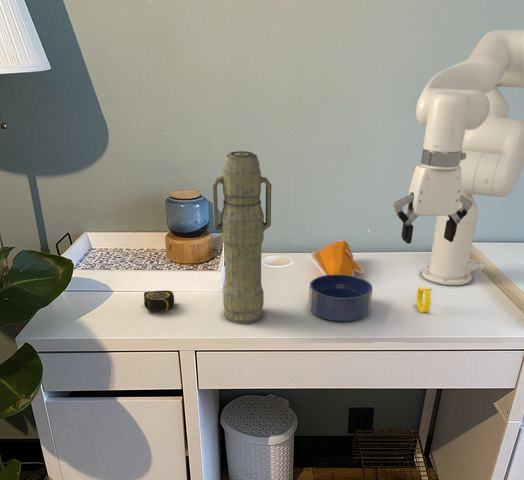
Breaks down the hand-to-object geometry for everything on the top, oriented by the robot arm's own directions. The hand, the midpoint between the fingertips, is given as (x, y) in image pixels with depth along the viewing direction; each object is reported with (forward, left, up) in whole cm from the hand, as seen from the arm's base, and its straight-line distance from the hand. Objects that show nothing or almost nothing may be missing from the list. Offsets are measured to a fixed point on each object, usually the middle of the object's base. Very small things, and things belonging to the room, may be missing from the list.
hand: (427, 240), depth 121 cm
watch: (-1, +1, -16) cm, 16 cm away
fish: (+13, -21, -16) cm, 30 cm away
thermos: (+40, -3, -16) cm, 44 cm away
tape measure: (+59, -10, -16) cm, 62 cm away
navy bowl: (+18, -2, -16) cm, 24 cm away
